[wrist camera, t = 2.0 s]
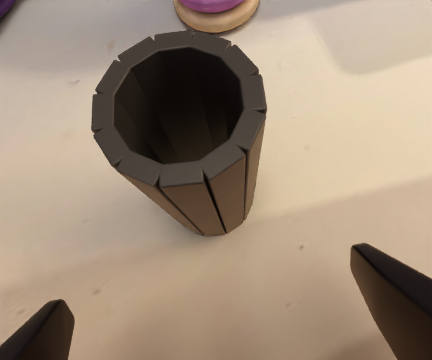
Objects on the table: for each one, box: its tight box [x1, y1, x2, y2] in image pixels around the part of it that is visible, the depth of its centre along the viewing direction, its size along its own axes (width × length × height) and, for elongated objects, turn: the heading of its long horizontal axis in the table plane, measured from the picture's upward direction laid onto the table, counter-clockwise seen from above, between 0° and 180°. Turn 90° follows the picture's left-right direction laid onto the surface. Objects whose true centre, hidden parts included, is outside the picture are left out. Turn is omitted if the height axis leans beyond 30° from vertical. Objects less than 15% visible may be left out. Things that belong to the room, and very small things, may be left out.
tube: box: [91, 30, 267, 236], centre depth 16 cm, size 6×6×13 cm
